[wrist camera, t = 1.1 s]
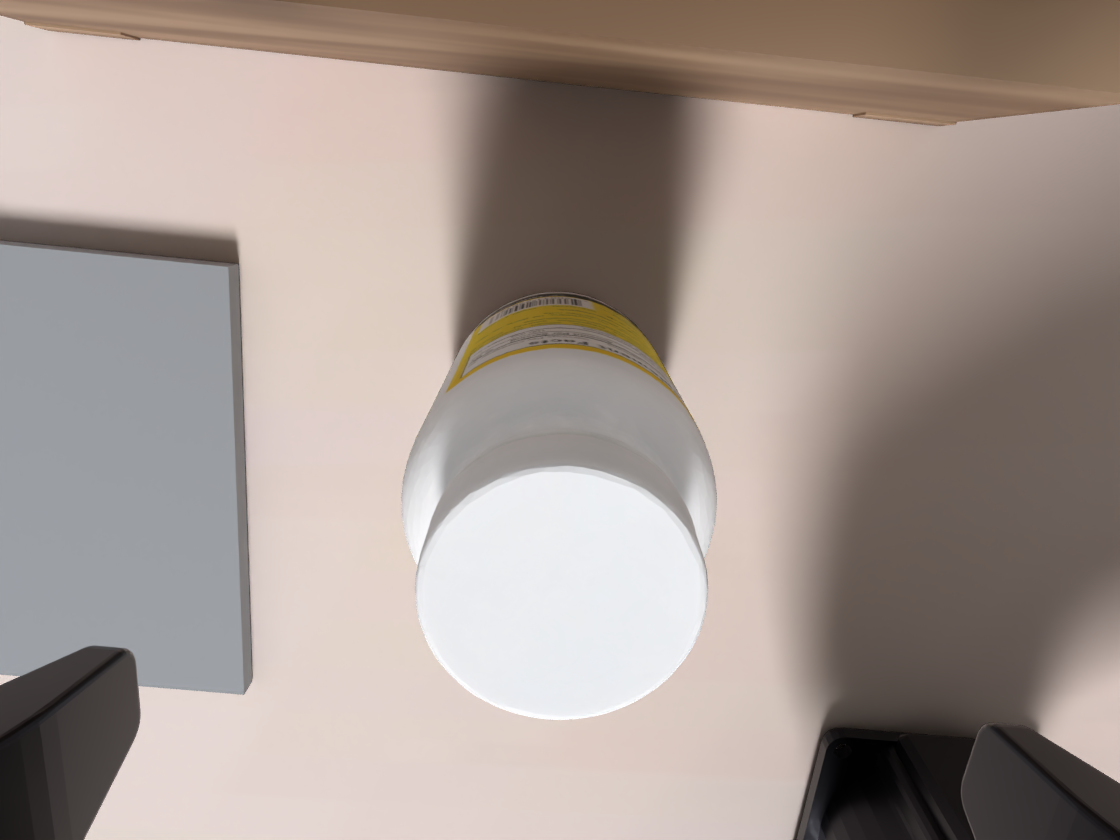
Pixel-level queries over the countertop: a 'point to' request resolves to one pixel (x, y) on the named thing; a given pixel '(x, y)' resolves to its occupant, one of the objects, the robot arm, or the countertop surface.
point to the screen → (680, 46)
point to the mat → (123, 464)
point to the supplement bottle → (559, 512)
